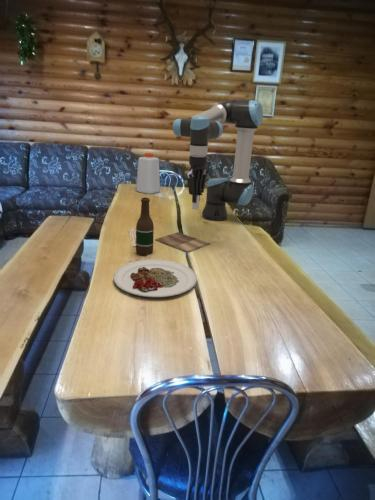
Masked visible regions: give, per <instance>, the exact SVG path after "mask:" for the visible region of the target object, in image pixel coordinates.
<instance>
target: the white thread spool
mask: <svg viewBox="0 0 375 500" xmlns="http://www.w3.org/2000/svg"><path fill="white" fill-rule="evenodd" d="M137 161H138V162H137V176H136V188H135V189H136V192H137V191H138V193H141V194H145V195H152V194H157V193H160V192H161V179H160V178H161V177H160V176H161V175H160V159H159V157H155V156H154V153H151V152H146V153H144V156H140V157H138V160H137Z"/></svg>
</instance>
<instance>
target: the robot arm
mask: <svg viewBox="0 0 375 500" xmlns="http://www.w3.org/2000/svg"><path fill="white" fill-rule="evenodd" d="M263 119H264V110H263V106H262V104H261V102H260V101H258V100H253V99H251V100H250V99H249V100H248V99H246V100H245V99H228V100H225V101H221V102H219V103H217V104H214V105H213V106H212V107H211V108H209V109H207V110H205V111H202V112H199V113H198V114H195V115H192V116H190V117H187V118H177V119H176V118H175V120H174V121H173V123H172V132H173V134H174V135H175V136H178V137H181V138H190V139H189V140H190V141H189V160H188V163H189V165H190V168H189V172H188V173H185V177H186V180H187V187H188V194H189V195H190V196H192V198H191V200H192V206H191V207H192V208H191V209H192V210H194V211H198V210H200V202H201V201H200V200H201V196H203V194H204V191H205V187H206V196H205V197H206V198H205V199H206V200H205V204H204V207H203V210H202V212H201V217H202V218H203V219H205V220H209V221H219V222H220V221H225V220H227V219H228V211H227V206H226V203H229V204H235V205H238V206H240V205H241V206H246V205H248V204H249V203H250V202H251V200H252V199H253V195H254V190H255V189H254V186H253V185H252V184H251V182H252V180H250V178H249V177H250V171H251V170H250V169H251V168H250V167H251V160H252V153H253V143H254V135H255V132H257V130H258V127H259V126H261V125H262V123H263ZM223 123H224V124H233V125H235V126H234V128H235V129H236V131H237V133H236V142H235V144H236V145H235V151H234V152H235V154H234V162H233V172H232V173H233V175H232V177H231V178H230V179H229V178H228V177H227V178H226V177H215V178H209V179H208V180H207V176H208V174H209V170H206V166H207V164H208V157H207V155H208V146H209V140H217V139H218V138H220V137H221V136H222V135H223V132H224V128H223ZM206 181H207V185H206Z"/></svg>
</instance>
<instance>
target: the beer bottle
mask: <svg viewBox="0 0 375 500" xmlns="http://www.w3.org/2000/svg"><path fill="white" fill-rule="evenodd" d="M140 202H141V203H140V204H141V205H140V216H139V218H138V219H137V222H136V227H135V229H136V246H135V254H136V255H138V256H140V257H148V255H151V254H154V253H153V252H154V234H155V233H154V231H155V230H154V229H155V228H154V227H155V226H154V221H153V219H152V218H151V215H150V202H151V201H150V198H149V197H142V198H141V199H140Z"/></svg>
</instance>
